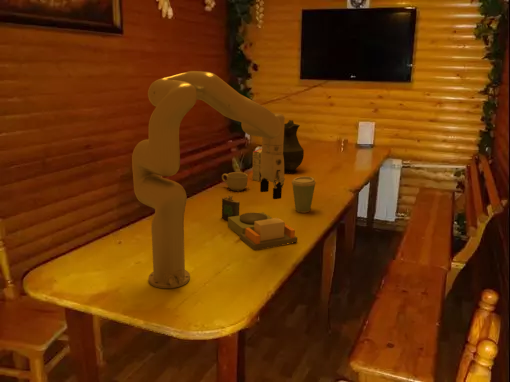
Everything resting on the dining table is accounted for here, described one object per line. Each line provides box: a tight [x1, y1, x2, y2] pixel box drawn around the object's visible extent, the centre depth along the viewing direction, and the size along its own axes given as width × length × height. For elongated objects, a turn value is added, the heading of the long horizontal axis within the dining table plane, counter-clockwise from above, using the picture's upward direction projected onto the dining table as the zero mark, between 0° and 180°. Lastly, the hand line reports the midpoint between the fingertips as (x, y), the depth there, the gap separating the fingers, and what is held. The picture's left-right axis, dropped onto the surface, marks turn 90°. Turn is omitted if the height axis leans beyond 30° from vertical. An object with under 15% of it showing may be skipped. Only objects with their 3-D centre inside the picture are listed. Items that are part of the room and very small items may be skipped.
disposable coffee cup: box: [291, 175, 317, 214], centre depth 212 cm, size 11×11×15 cm
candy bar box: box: [252, 147, 262, 182], centre depth 265 cm, size 11×5×16 cm, turn 155°
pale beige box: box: [254, 217, 286, 241], centre depth 176 cm, size 5×10×6 cm, turn 117°
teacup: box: [221, 171, 249, 192], centre depth 245 cm, size 14×11×8 cm
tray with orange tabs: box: [227, 211, 298, 251], centre depth 183 cm, size 26×18×5 cm
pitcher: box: [283, 119, 305, 174], centre depth 282 cm, size 17×21×30 cm
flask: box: [221, 195, 241, 222], centre depth 198 cm, size 9×3×11 cm, turn 50°
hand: (270, 195), depth 172 cm, fingers open, 9 cm apart
